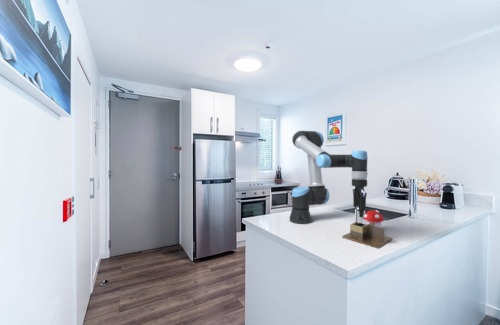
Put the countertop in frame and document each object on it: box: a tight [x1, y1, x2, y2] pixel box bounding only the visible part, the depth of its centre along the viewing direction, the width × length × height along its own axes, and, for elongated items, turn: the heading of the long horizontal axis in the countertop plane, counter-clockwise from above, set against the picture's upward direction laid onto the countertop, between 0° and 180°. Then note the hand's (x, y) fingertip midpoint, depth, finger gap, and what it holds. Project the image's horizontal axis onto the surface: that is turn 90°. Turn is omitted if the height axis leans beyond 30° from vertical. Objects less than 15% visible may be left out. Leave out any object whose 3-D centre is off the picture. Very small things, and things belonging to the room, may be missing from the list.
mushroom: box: [363, 209, 385, 228], centre depth 130 cm, size 11×11×12 cm
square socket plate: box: [341, 221, 393, 249], centre depth 116 cm, size 18×18×8 cm
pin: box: [355, 206, 363, 227], centre depth 117 cm, size 3×3×13 cm
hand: (359, 221), depth 117 cm, fingers closed on pin, 3 cm apart
